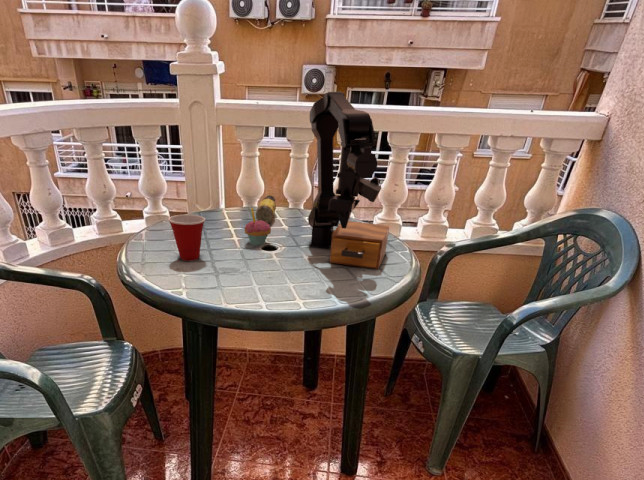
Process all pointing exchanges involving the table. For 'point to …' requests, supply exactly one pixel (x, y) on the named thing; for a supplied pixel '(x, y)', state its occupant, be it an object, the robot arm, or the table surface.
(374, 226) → the cabinet
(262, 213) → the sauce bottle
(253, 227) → the cupcake
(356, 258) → the wooden drawer
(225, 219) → the table surface
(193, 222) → the plastic cup
